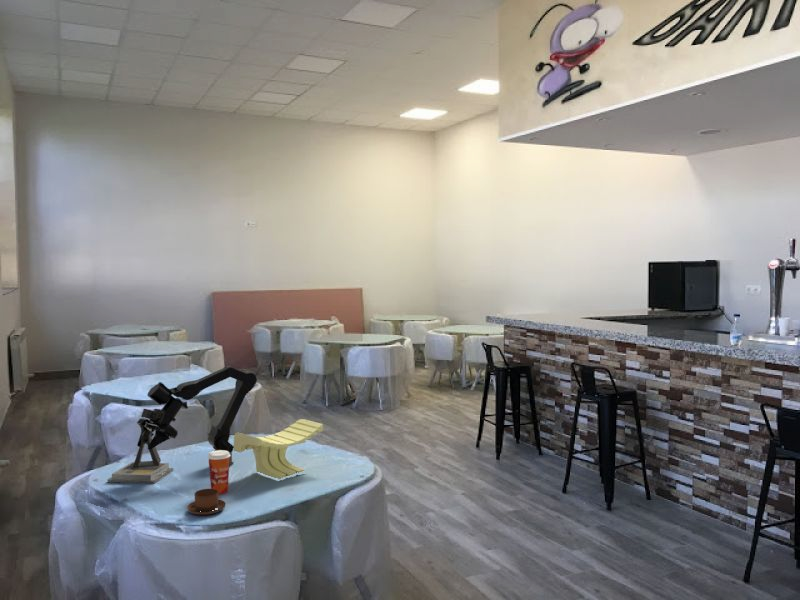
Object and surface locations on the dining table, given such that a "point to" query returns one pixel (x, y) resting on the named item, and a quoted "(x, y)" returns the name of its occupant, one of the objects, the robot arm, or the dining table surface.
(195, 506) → the cup and saucer
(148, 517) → the dining table surface
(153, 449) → the phone stand
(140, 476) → the square tray
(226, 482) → the paper cup
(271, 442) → the slatted curved stool
